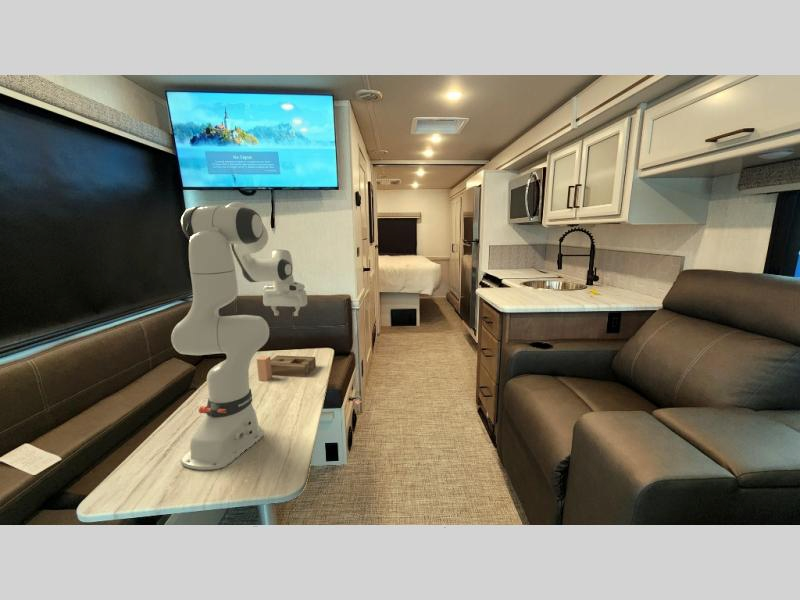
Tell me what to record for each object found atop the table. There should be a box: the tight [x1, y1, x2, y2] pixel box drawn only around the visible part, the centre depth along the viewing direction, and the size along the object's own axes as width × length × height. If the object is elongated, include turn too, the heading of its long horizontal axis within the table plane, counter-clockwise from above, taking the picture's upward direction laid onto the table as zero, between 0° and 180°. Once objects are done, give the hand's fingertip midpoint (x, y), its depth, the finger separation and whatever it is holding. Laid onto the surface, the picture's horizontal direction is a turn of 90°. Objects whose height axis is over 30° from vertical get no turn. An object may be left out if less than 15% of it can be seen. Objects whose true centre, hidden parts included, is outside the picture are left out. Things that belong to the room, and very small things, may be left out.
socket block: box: [270, 354, 317, 378], centre depth 148 cm, size 12×20×5 cm, turn 82°
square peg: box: [256, 355, 273, 382], centre depth 139 cm, size 4×4×10 cm
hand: (286, 315), depth 144 cm, fingers open, 8 cm apart
